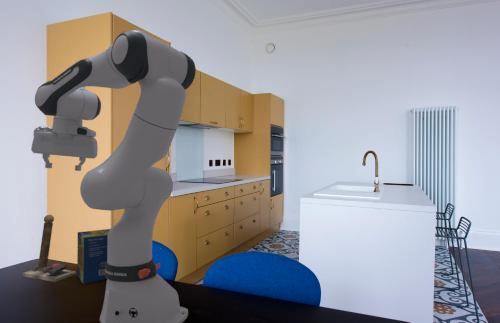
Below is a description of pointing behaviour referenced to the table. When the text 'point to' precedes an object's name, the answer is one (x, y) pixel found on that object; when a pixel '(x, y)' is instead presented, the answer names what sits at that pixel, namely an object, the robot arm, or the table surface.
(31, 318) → the table surface
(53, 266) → the button
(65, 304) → the table surface
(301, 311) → the table surface
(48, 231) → the lever
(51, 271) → the block
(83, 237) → the protein box
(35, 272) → the board
